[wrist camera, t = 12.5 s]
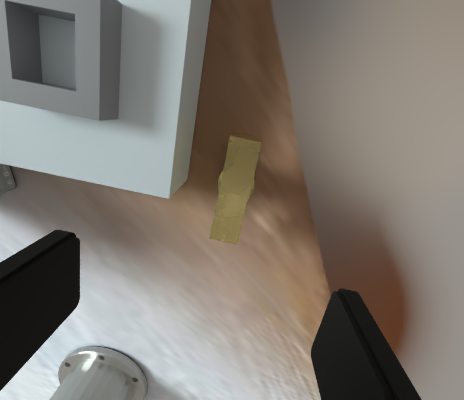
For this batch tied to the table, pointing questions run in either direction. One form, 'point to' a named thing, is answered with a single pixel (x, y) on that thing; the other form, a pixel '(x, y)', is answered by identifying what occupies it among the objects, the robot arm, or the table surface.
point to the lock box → (102, 89)
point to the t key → (235, 187)
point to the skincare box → (6, 178)
